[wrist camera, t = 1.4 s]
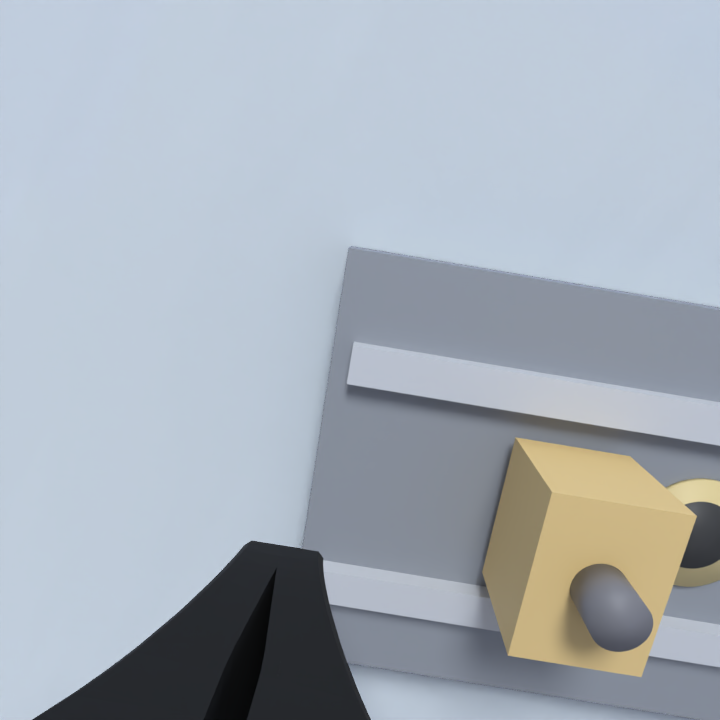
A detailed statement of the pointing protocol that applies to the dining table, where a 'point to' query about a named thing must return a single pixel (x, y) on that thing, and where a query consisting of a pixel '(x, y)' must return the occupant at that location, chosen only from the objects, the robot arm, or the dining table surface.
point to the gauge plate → (505, 463)
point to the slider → (583, 557)
